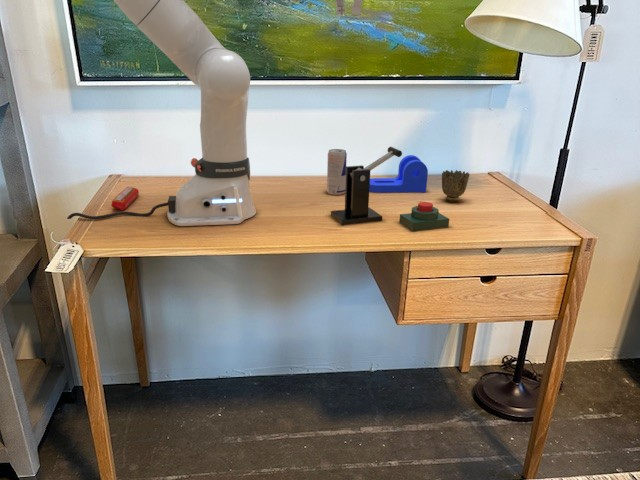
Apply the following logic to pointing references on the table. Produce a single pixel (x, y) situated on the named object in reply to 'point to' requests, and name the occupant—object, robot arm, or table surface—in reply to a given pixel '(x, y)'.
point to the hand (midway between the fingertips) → (348, 14)
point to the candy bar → (125, 198)
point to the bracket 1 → (356, 199)
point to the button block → (424, 220)
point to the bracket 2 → (403, 178)
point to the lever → (383, 158)
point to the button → (425, 207)
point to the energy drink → (336, 171)
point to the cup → (454, 184)
